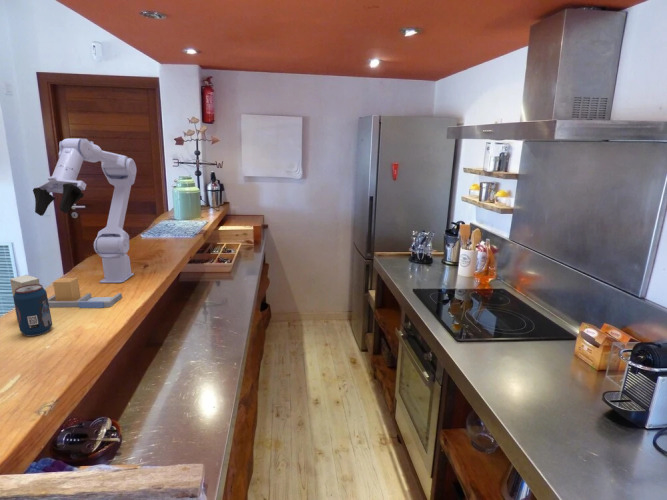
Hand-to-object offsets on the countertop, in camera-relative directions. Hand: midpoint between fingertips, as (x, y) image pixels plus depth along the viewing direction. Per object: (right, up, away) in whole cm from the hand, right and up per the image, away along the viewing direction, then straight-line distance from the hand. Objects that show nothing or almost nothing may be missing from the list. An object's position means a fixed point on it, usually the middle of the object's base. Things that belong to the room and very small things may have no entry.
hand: (51, 212), depth 114 cm
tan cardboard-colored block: (-4, -26, +15) cm, 30 cm away
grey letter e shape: (0, -26, +14) cm, 30 cm away
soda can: (0, -32, -5) cm, 32 cm away
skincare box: (-6, -30, +2) cm, 30 cm away
